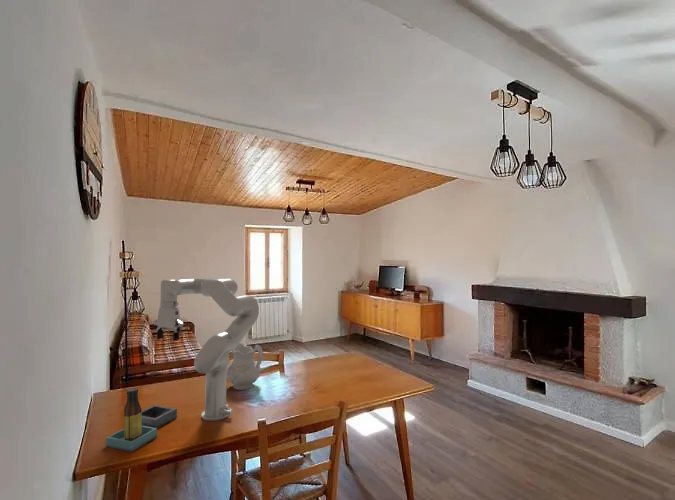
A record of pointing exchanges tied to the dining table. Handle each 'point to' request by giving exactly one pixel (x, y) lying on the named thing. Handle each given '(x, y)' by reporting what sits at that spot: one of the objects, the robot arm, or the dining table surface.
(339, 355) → the dining table surface
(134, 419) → the sauce bottle
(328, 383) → the dining table surface
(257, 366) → the ceramic pitcher
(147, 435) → the teal tray
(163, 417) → the steel collar
